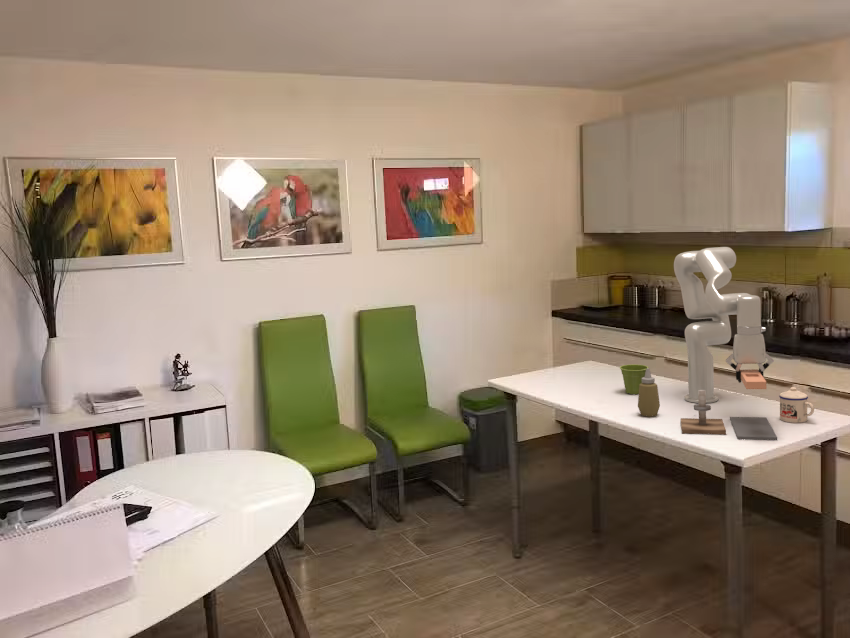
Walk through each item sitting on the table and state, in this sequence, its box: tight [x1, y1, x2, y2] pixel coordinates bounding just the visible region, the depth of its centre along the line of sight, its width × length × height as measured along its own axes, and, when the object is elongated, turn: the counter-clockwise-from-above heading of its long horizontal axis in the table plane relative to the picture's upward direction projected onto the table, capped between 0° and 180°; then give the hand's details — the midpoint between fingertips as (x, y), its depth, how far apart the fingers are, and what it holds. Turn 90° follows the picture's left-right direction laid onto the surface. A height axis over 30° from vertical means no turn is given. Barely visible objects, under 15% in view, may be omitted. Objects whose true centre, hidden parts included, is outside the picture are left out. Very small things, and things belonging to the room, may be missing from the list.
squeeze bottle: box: [637, 368, 661, 418], centre depth 269 cm, size 8×8×18 cm
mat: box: [729, 416, 778, 441], centre depth 244 cm, size 24×12×1 cm, turn 162°
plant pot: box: [619, 363, 650, 395], centre depth 304 cm, size 12×12×11 cm
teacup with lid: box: [778, 386, 815, 424], centre depth 250 cm, size 12×9×12 cm
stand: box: [680, 390, 727, 436], centre depth 248 cm, size 14×14×14 cm
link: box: [740, 368, 767, 390], centre depth 242 cm, size 20×6×2 cm, turn 162°
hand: (749, 381), depth 249 cm, fingers closed on link, 5 cm apart
